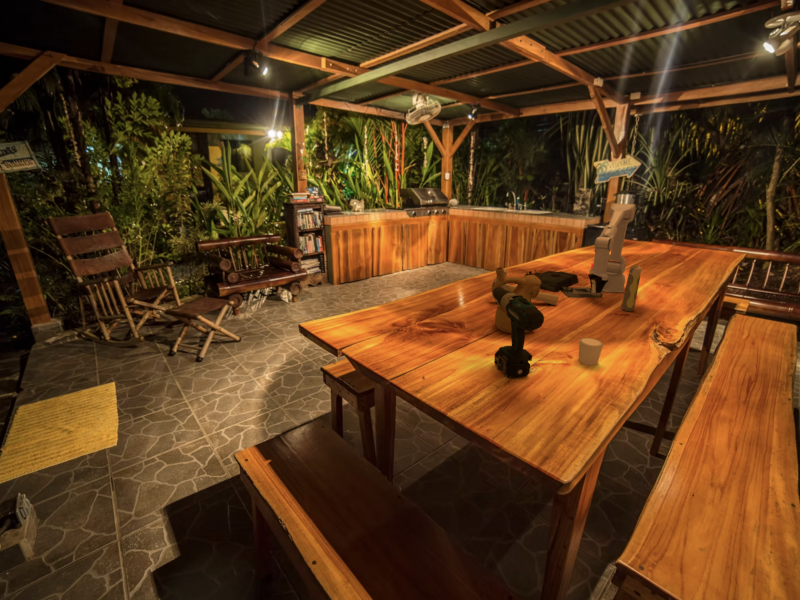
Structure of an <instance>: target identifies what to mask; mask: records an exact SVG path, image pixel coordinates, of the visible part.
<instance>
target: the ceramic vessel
mask: <svg viewBox="0 0 800 600" xmlns="http://www.w3.org/2000/svg"><path fill="white" fill-rule="evenodd" d="M504 270H505V269H504V267H503V266H499V267H496V268H495V275H496V274H497V275H496V277H497V279H498V280H497V281H496V282H495V283H494V285H493V287H492V286H491V288H492V291H491V294H493V290H494V288H497V287H501V286H502V285H504V284H514V285H515V286H516V287H515V288H514V289H513V290H512V291H511V292H513V293H514V294H516V295H521V296H523V297H524V298H526V299H527V300H528V301H529V302H530V303H532V304H533V301H532V300H533V299H534V298H535V297H536V296H537V295H538V293H539V292H541V289H540V284H541V281H540V279H539V278H538V277H536V276H535V275H527V276H525V275H524V276H525V277H524V276H523V277H522V278H521V277H518V276H506V277H505V275H504ZM492 297H493V298H494V296H493V295H492ZM531 298H532V299H531ZM495 299H496V298H495ZM495 299H494V300H495ZM496 300H497V299H496ZM505 312H506V311H505V310H504V309H503V308H502V307H501V306H500V305H499V304H498V303H497V307H496V310H495V315H494V324H495V326H496V328H497V329H498V330H499V331H501V332H503V333H505V334H510V335H511V331H512V329H511V319H510V318H509V317H508V316H507V314H506V313H505ZM529 332H531V331H526V330H525V334H526V333H529Z"/></svg>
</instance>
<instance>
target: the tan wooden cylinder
mask: <svg viewBox="0 0 800 600" xmlns="http://www.w3.org/2000/svg"><path fill="white" fill-rule="evenodd" d="M578 341H579V344H578V362H579V363H581V364H583V365H586V366H592V367H593V366H597V365H598V363H599V360H600V358H601V357H600V356H601V352H602V350H603V346H604V342H602V341H601V340H599V339H597V338H594V337H582V338H579V340H578Z"/></svg>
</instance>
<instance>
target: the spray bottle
mask: <svg viewBox="0 0 800 600" xmlns="http://www.w3.org/2000/svg"><path fill="white" fill-rule="evenodd" d="M641 273H642V267H641V266H639V265H631V266H630V268H629V270H628V274H627V280H626V284H625V287H624V288H625V289H624V292H623V293H624V294H623V298H622V303H621V307H620V308H621V310H623V311H624V312H633V311H634V310H635V305H636V300H637V296H638V291H639V290H638V289H639V285H640V279H641Z"/></svg>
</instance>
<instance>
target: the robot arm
mask: <svg viewBox="0 0 800 600" xmlns="http://www.w3.org/2000/svg"><path fill="white" fill-rule="evenodd" d="M636 208H637V207H636V204H635V203H630V204H629V203H615V202H614V203H611V206H610V207H609V216H610V220H609V223H608V224H606V225H605V226H604V227H603V230H602V231H601V233H600V235H599V236H598V237H595V238H596V239H595V241H594V258H593V264H592V268H590V270H589V274H588V278H589V282H590V283H589V284H590V288H592V282H591V279H595V284H596V289H595V291H596V293H602V292H604V293H625V289H624V288H625V285H626V284H625V283H626V277H625V274H624V273H625V270H626V265H627V264H626V263H627V260H626V258H625V257H624V256H623V255H622V252H623V247H624V242H625V237H626V232H627V228H628V226H629V223H630V222H633V220H634V218H635V214H636Z"/></svg>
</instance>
